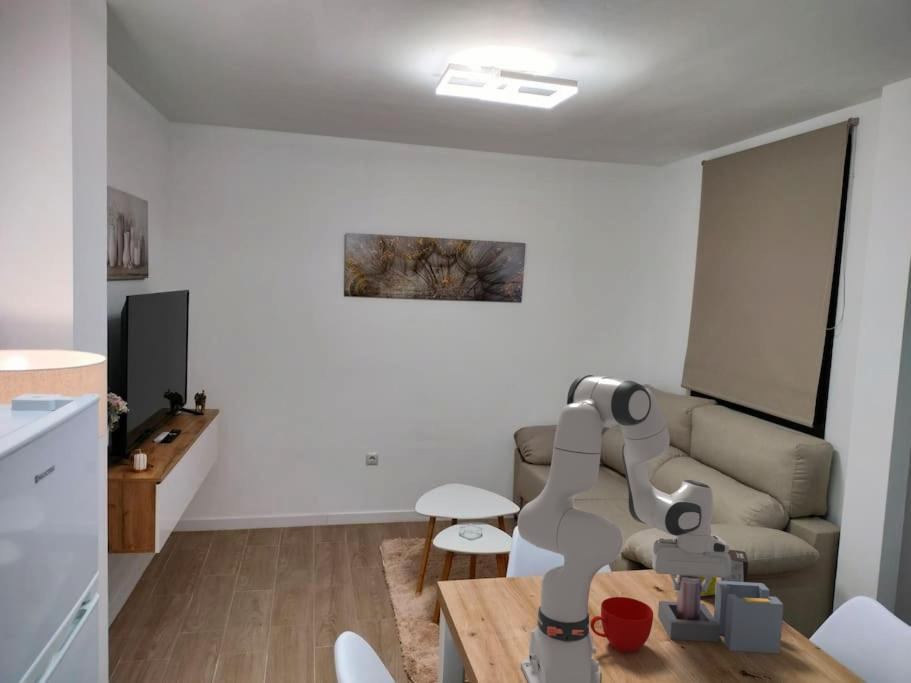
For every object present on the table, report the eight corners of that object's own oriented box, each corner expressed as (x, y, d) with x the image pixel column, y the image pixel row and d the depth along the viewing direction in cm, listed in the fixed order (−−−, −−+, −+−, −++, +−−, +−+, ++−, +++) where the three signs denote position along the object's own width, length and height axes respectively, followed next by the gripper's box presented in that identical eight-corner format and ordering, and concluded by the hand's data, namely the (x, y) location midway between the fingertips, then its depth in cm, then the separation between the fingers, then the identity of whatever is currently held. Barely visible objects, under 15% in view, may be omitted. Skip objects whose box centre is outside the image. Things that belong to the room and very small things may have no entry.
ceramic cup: (576, 639, 173) (578, 602, 172) (630, 630, 179) (633, 594, 178) (604, 665, 161) (606, 625, 160) (661, 655, 167) (664, 616, 166)
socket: (779, 653, 170) (783, 602, 169) (729, 650, 171) (733, 599, 170) (759, 629, 183) (763, 581, 182) (713, 626, 183) (716, 579, 182)
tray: (718, 642, 175) (719, 625, 174) (670, 639, 175) (671, 622, 175) (702, 619, 187) (704, 603, 187) (657, 616, 188) (658, 600, 187)
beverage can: (680, 620, 185) (683, 568, 184) (702, 628, 181) (704, 574, 180) (672, 628, 181) (674, 575, 180) (694, 636, 177) (696, 581, 176)
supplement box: (686, 590, 206) (688, 555, 205) (702, 588, 207) (705, 554, 207) (698, 599, 200) (701, 563, 199) (715, 597, 202) (717, 562, 201)
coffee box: (744, 617, 189) (748, 562, 188) (720, 613, 191) (724, 558, 190) (742, 604, 198) (746, 551, 197) (718, 600, 200) (722, 547, 199)
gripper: (657, 542, 177) (653, 593, 178) (735, 547, 176) (731, 598, 177) (651, 534, 183) (647, 583, 184) (726, 538, 182) (723, 587, 183)
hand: (689, 590), depth 180 cm, fingers closed on beverage can, 6 cm apart
